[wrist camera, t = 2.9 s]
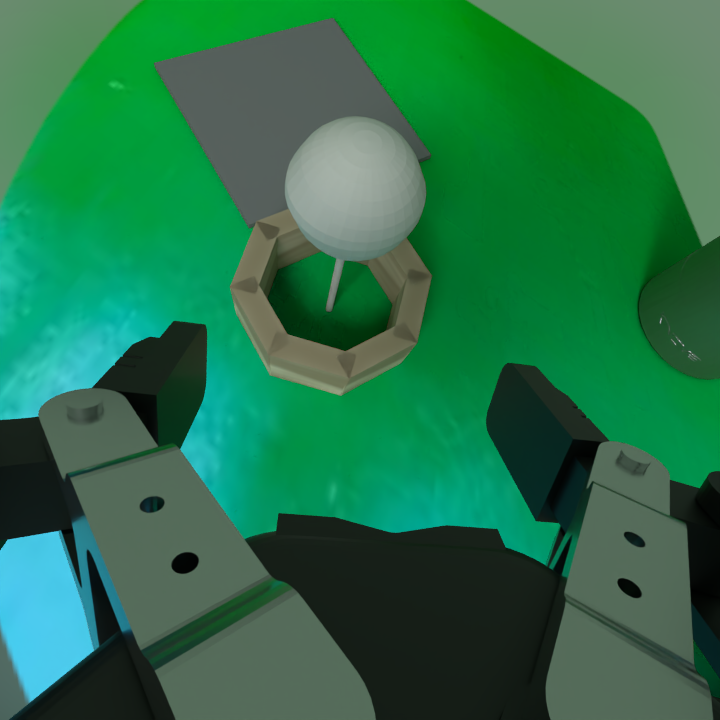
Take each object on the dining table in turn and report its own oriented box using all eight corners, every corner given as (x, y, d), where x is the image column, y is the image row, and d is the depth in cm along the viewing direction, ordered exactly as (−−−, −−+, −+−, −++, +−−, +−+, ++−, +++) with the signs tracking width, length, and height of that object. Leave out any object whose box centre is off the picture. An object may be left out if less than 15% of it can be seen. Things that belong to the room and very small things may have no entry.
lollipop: (356, 262, 32) (412, 72, 18) (385, 334, 31) (470, 189, 17) (272, 282, 31) (264, 91, 17) (299, 360, 29) (314, 222, 15)
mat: (332, 22, 40) (333, 17, 39) (429, 158, 37) (431, 154, 36) (155, 67, 35) (153, 63, 35) (249, 228, 32) (248, 224, 32)
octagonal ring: (357, 215, 34) (366, 178, 30) (440, 342, 32) (461, 319, 28) (214, 274, 30) (204, 240, 27) (294, 420, 28) (296, 406, 24)
